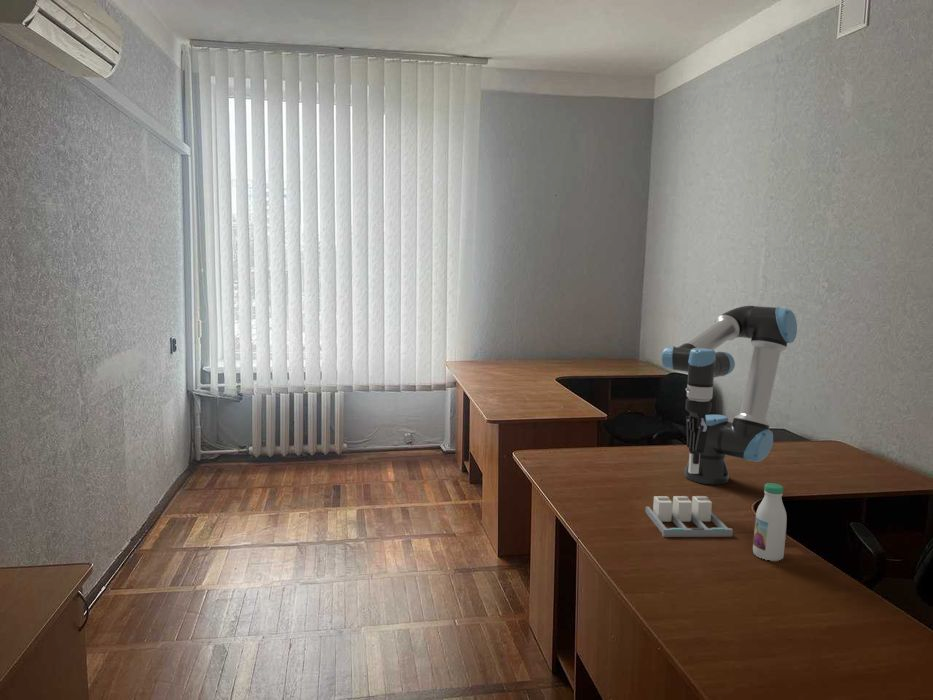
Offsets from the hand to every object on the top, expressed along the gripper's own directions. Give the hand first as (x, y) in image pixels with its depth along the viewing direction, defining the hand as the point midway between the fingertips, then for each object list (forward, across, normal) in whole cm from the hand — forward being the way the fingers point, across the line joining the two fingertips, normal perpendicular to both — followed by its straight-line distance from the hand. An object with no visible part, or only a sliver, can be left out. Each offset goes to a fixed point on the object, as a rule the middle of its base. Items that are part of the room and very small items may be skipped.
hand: (693, 472), depth 208 cm
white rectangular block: (+12, +7, 0) cm, 14 cm away
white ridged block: (+12, +7, -6) cm, 15 cm away
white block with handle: (+12, +7, -12) cm, 18 cm away
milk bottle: (+14, +29, +10) cm, 34 cm away
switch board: (+14, +11, -6) cm, 18 cm away
